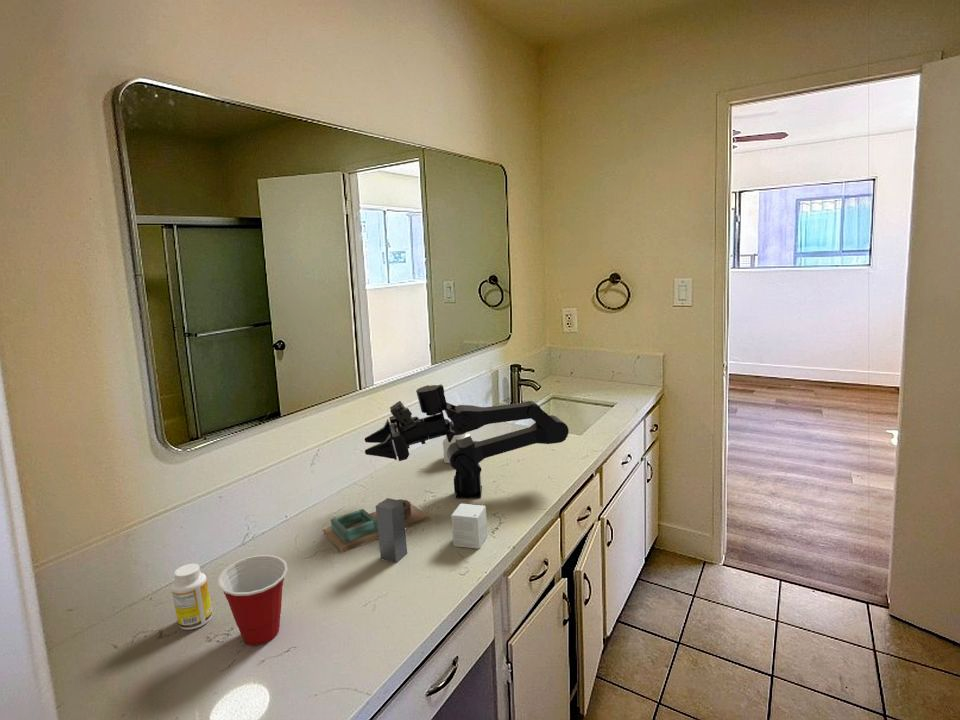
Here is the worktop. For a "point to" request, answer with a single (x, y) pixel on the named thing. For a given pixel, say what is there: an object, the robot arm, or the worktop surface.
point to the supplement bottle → (191, 597)
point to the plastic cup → (255, 596)
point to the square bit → (391, 530)
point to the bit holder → (366, 526)
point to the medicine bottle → (452, 441)
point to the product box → (469, 526)
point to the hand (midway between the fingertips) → (365, 446)
